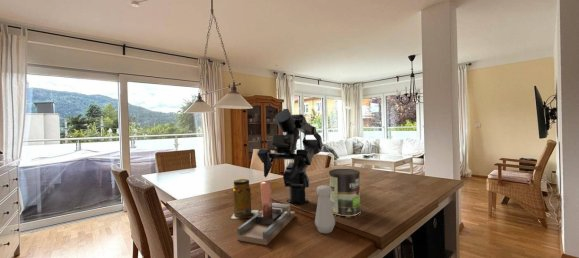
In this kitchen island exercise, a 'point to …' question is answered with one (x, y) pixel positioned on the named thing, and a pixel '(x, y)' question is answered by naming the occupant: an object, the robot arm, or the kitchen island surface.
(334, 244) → the kitchen island surface
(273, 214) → the slider
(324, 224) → the salt shaker
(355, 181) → the coffee can
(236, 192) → the condiment
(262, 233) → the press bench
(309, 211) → the kitchen island surface
